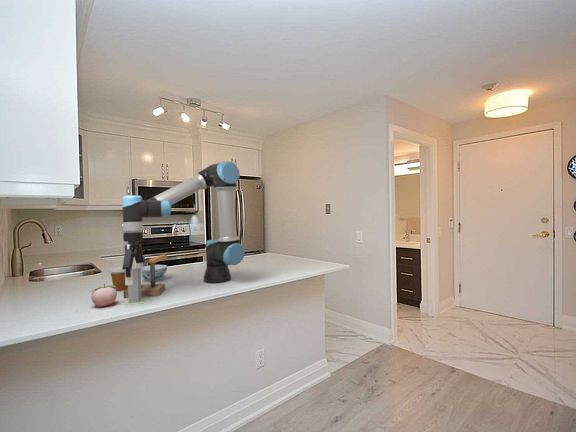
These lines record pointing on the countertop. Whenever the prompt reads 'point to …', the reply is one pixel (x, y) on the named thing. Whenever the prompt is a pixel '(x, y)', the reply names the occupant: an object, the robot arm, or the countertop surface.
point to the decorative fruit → (104, 295)
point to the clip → (157, 258)
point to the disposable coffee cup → (118, 278)
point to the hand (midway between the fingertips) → (134, 281)
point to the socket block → (150, 286)
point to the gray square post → (135, 287)
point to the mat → (135, 302)
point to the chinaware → (159, 272)
